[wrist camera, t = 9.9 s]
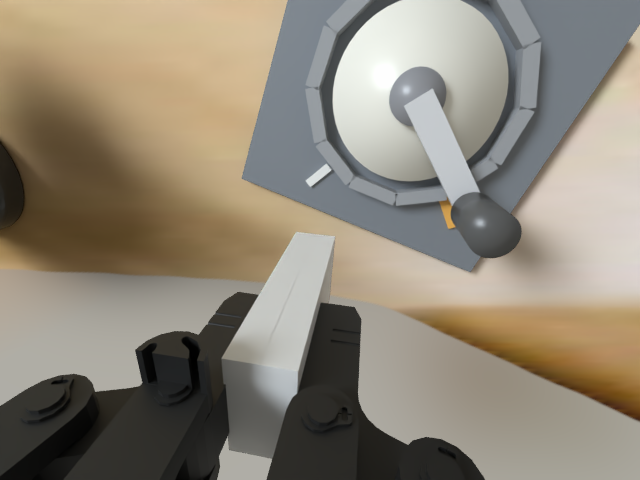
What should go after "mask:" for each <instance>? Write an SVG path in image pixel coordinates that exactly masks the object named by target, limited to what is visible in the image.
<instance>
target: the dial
mask: <svg viewBox="0 0 640 480" xmlns="http://www.w3.org/2000/svg"><path fill="white" fill-rule="evenodd" d="M507 89H508V64H507V57H506V53H505V50H504V47H503V44H502V41H501V39H500V37H499V35H498V33H497V31H496V30H495V28H494V27H493V25H492V24H491V23H490V21H489V20H488V19H487V18H486V17H485V16H484V15H483V14H482V13H481V12H479V11H478V10H477V9H475V8H474V7H473V6H471V5H469V4H467V3H465V2H463V1H461V0H400V1H398V2H396V3H394V4H392V5H390V6H387V7H386V8H384V9H383V10H381V11H380V12H378V13H377V14H375V15H374V16H373V17H372V18H371V19H369V20H368V21H367V22H366V23H365V24H364V25H363V26H362V27H361V28H360V29H359V31H358V32H357V33H356V34H355V36H354V37H353V38H352V40H351V41H350V43H349V44H348V46H347V48H346V50H345V52H344V53H343V56H342V58H341V60H340V63H339V65H338V69H337V72H336V76H335V81H334V87H333V113H334V118H335V123H336V126H337V129H338V132H339V134H340V137H341V139H342V141H343V143H344V144H345V146H346V147H347V149H348V151H349V152H350V153H351V154H352V155H353V157H354V158H355V159H356V160H357V161H358V162H360V163H361V164H362V165H363V166H364V167H366V168H367V169H369V170H370V171H372V172H374V173H376V174H378V175H380V176H383V177H386V178H389V179H393V180H398V181H421V180H426V179H431V178H434V177H438V179H439V181H440V183H441V185H442V187H443V189H444V191H445V193H446V195H447V197H448V200H449V202H450V204H451V206H452V208H451V213H450V215H451V220H452V222H453V224H454V225H455V227H456V228H457V230H458V231H459V233H460V234H461V236H462V237H463V239H464V240H465V242H466V243H467V245H468V246H469V248H470V249H471V250H472V251H473V252H474V253H475V254H477V255H479V256H481V257H485V258H496V257H500V256H503V255H505V254H507V253H509V252H510V251H512V250H513V249H514V248H515V247H516V245H517V244H518V242H519V240H520V238H521V226H520V223H519V222H518V220H517V219H516V218H515V217H514V216H512V215H511V214H510V213H509V212H507V211H506V210H505V209H504V208H502V207H501V206H500V205H499V204H497V203H496V202H495V201H494V200H492V199H491V198H490V197H489V196H487V195H486V194H484V193H480V191H479V189H478V187H477V185H476V182H475V180H474V178H473V176H472V174H471V171H470V169H469V167H468V165H467V163H466V161H467V160H468V159H470V158H471V157H472V156H473V155H474V154H475V153H476V152H477V151H478V150H479V149H480V148H481V147H482V145H483V144H484V143H485V142H486V141H487V139H488V138H489V136H490V135H491V133H492V132H493V130H494V128H495V126H496V124H497V122H498V121H499V118H500V116H501V113H502V111H503V108H504V104H505V100H506V96H507Z"/></svg>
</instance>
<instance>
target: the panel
mask: <svg viewBox="0 0 640 480" xmlns="http://www.w3.org/2000/svg"><path fill="white" fill-rule="evenodd" d="M398 1H400V0H288V2H287V6H286V10H285V13H284V17H283V21H282V25H281V29H280V33H279V37H278V40H277V44H276V48H275V52H274V56H273V60H272V64H271V67H270V71H269V75H268V79H267V83H266V87H265V91H264V94H263V98H262V102H261V106H260V110H259V114H258V118H257V121H256V125H255V129H254V133H253V137H252V141H251V144H250V148H249V152H248V156H247V160H246V164H245V168H244V171H243V175H242V179H244V180H247V181H249V182H251V183H254V184H256V185H259V186H261V187H264V188H266V189H268V190H271V191H273V192H276V193H278V194H281V195H283V196H286V197H288V198H290V199H293V200H295V201H298V202H300V203H303V204H305V205H307V206H310V207H312V208H315V209H317V210H320V211H322V212H325V213H327V214H329V215H332V216H334V217H337V218H339V219H342V220H344V221H347V222H349V223H351V224H354V225H356V226H359V227H361V228H364V229H366V230H368V231H371V232H373V233H376V234H378V235H381V236H383V237H386V238H388V239H390V240H393V241H395V242H398V243H400V244H403V245H405V246H408V247H410V248H412V249H415V250H417V251H420V252H422V253H425V254H427V255H429V256H432V257H434V258H437V259H439V260H442V261H444V262H447V263H449V264H451V265H454V266H456V267H459V268H461V269H464V270H466V271H469V272H471V270H472V269H473V267H474V266H475V264H476V263H477V261H478V260H479V258H480V257H481V256H479V255H477V254H475V253H474V252H473V251H472V250H471V249H470V248H469V246H468V245H467V243H466V242H465V240H464V239H463V237H462V236H461V234H460V233H459V231H458V230H457V228H456V227H455V225H454V224H453V222H452V220H451V215H450V213H451V208H452V206H451V204H450V202H449V200H448V197H447V195H446V193H445V191H444V189H443V187H442V185H441V183H440V181H439V179H438V177H434V178H431V179H426V180H421V181H398V180H393V179H389V178H386V177H383V176H380V175H378V174H376V173H374V172H372V171H370V170H369V169H367V168H366V167H364V166H363V165H362V164H361V163H360V162H358V161H357V160H356V159H355V158H354V157H353V155H352V154H351V153H350V152H349V151H348V149H347V147H346V146H345V144H344V143H343V141H342V139H341V137H340V134H339V132H338V129H337V126H336V123H335V118H334V113H333V87H334V81H335V76H336V72H337V69H338V65H339V63H340V60H341V58H342V56H343V53H344V52H345V50H346V48H347V46H348V44H349V43H350V41H351V40H352V38H353V37H354V36H355V34H356V33H357V32H358V31H359V29H360V28H361V27H362V26H363V25H364V24H365V23H366V22H367V21H368V20H369V19H371V18H372V17H373V16H374V15H375V14H377V13H378V12H380V11H381V10H383V9H384V8H386V7H387V6H390V5H392V4H394V3H396V2H398ZM461 1H463V2H465V3H467V4H469V5H471V6H473V7H474V8H475V9H477V10H478V11H479V12H481V13H482V14H483V15H484V16H485V17H486V18H487V19H488V20H489V21H490V23H491V24H492V25H493V27H494V28H495V30H496V31H497V33H498V35H499V37H500V39H501V41H502V44H503V47H504V50H505V53H506V57H507V64H508V89H507V96H506V100H505V104H504V108H503V111H502V113H501V116H500V118H499V121H498V122H497V124H496V126H495V128H494V130H493V132H492V133H491V135H490V136H489V138H488V139H487V141H486V142H485V143H484V144H483V145H482V147H481V148H480V149H479V150H478V151H477V152H476V153H475V154H474V155H473V156H472V157H471V158H470V159H468V160H467V161H466V163H467V165H468V167H469V169H470V171H471V174H472V176H473V178H474V180H475V182H476V185H477V187H478V189H479V191H480V193H484V194H486V195H487V196H489V197H490V198H491V199H492V200H494V201H495V202H496V203H497V204H499V205H500V206H501V207H502V208H504V209H505V210H506V211H507V212H509V213H511V212H512V210H513V209H514V207H515V206H516V204H517V203H518V201H519V200H520V198H521V197H522V196H523V194H524V193H525V191H526V190H527V188H528V187H529V185H530V184H531V182H532V181H533V179H534V178H535V177H536V175H537V174H538V172H539V171H540V169H541V168H542V166H543V165H544V163H545V162H546V160H547V159H548V158H549V156H550V155H551V153H552V152H553V150H554V149H555V147H556V146H557V144H558V143H559V141H560V140H561V139H562V137H563V136H564V134H565V133H566V131H567V130H568V128H569V127H570V125H571V124H572V122H573V121H574V120H575V118H576V117H577V115H578V114H579V112H580V111H581V109H582V108H583V106H584V105H585V103H586V102H587V101H588V99H589V98H590V96H591V95H592V93H593V92H594V90H595V89H596V87H597V86H598V84H599V83H600V82H601V80H602V79H603V77H604V76H605V74H606V73H607V71H608V70H609V68H610V67H611V65H612V64H613V63H614V61H615V60H616V58H617V57H618V55H619V54H620V52H621V51H622V49H623V48H624V46H625V45H626V44H627V42H628V41H629V39H630V38H631V36H632V35H633V33H634V32H635V30H636V29H637V27H638V26H639V24H640V0H461Z"/></svg>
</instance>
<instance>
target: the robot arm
mask: <svg viewBox="0 0 640 480" xmlns="http://www.w3.org/2000/svg"><path fill="white" fill-rule="evenodd" d="M23 202H24V196H23V188H22V183H21V180H20V177H19V174H18V172H17V169H16V167H15V165H14V163H13V161H12V160H11V158H10V156H9V155H8V153H7V152H6V150H5V149H4V148H3V146H2V145H1V144H0V229H3V228H6V227H8V226H10V225H12V224H13V223H14V222H15V221H16V220H17V219H18V218H19V216H20V214H21V212H22V208H23ZM334 244H335V236H327V235H318V234H309V233H301V232H296V233H295V235H294V236H293V238H292V240H291V242H290V243H289V245H288V247H287V248H286V250H285V252H284V253H283V255H282V257H281V258H280V260H279V262H278V264H277V265H276V267H275V269H274V270H273V272H272V274H271V275H270V277H269V279H268V280H267V282H266V284H265V286H264V288H263V289H262V291H261V292H260V294H259V295H255V294H249V293H242V292H237V293H236V294H234V295H233V296H231V297H229V298H228V299H226V300H225V301H224V302H223V303H222V305H221V306H220V307H219V309H218V310H217V311H216V314H215V315H213V317H212V318H211V319H210V321H209V322H208V325H206V326H205V327H204V329H203V330H202V331H201V333H200V334H199V335H197V334H194V333H191V332H183V331H180V332H179V331H174V332H170V333H166V334H161V335H159V336H156V337H154V338H152V339H150V340H148V341H146V342H145V343H143V344H142V345H141V346H140V347H138V348H137V349H136V350H135V351H136V356H137V360H138V364H139V369H140V373H141V378H142V382H143V383H142V385H141V386H139V387H133V388H127V389H118V390H109V391H100V392H95V390H94V388H93V384H92V382H91V381H90V380H88V378H87V377H85V376H81V375H77V374H70V375H60V376H57V377H54V378H51V379H47V380H44V381H41V382H40V383H38V384H36V385H34V386H32V387H30V388H28V389H26V390H25V391H23V392H22V393H20V394H18V395H17V396H15V397H14V398H12V399H11V400H9V401H7V402H6V403H4V404H3V405H1V406H0V480H217V477H218V473H219V468H220V463H219V455H220V452H221V450H222V448H223V445H224V443H225V441H226V438H227V436H228V441H229V450H232V451H237V452H242V453H247V454H252V455H257V456H262V457H267V458H272V463H271V466H270V470H269V473H268V476H267V480H485V479H484V477H483V476H482V474H481V473H480V471H479V470H478V468H477V467H476V465H475V464H474V463H473V461H472V460H471V459H470V458H469V457H468V456H467V455H465V454H464V453H463V452H462V451H461V450H460V449H459V448H457V447H456V446H454V445H452V444H450V443H448V442H446V441H444V440H441V439H436V438H429V437H425V438H421V439H417V440H413V441H412V442H411V443H410V444H409V445H407V444H405V443H403V442H401V441H399V440H397V439H395V438H393V437H391V436H389V435H388V434H386V433H384V432H383V431H381V430H380V429H378V428H376V427H375V426H374V425H373V424H372V423H371V422H370V421H369V420H368V419H367V417H366V416H365V414H364V413H363V411H362V409H361V406H360V404H359V400H358V378H359V357H360V334H361V318H360V316H359V314H358V313H357V311H356V309H355V307H349V306H342V305H335V304H328V303H329V298H330V289H331V277H332V266H333V255H334Z"/></svg>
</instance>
